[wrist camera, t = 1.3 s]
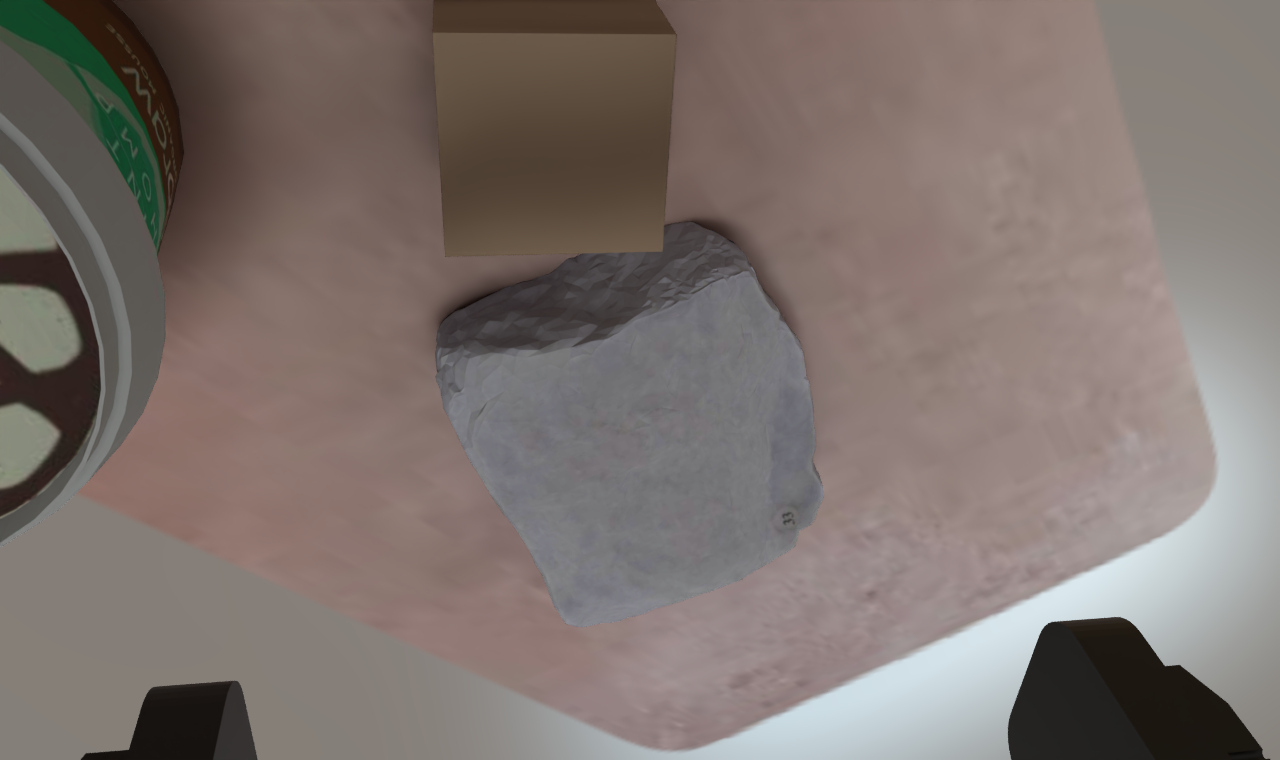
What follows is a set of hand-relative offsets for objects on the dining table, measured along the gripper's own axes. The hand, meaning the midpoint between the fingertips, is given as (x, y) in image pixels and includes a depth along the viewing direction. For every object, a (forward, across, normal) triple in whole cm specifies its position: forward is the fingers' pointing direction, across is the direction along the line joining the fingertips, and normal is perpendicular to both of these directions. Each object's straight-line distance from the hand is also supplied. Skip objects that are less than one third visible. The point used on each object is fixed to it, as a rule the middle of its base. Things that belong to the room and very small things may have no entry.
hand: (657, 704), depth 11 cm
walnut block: (+20, 0, 0) cm, 20 cm away
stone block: (+20, -4, +10) cm, 23 cm away
